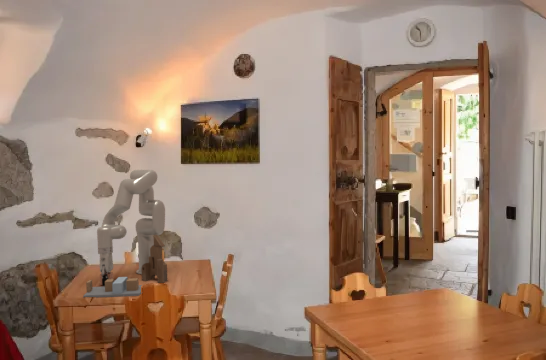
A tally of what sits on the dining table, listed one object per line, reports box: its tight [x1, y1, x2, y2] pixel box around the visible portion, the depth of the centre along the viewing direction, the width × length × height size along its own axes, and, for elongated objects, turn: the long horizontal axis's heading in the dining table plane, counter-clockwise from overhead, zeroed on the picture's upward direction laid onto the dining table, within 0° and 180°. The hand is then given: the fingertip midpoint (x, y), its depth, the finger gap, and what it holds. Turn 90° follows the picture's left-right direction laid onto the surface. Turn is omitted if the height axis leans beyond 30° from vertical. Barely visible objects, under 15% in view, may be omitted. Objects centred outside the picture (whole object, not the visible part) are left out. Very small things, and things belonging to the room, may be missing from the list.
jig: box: [82, 277, 143, 298], centre depth 263 cm, size 16×27×6 cm, turn 94°
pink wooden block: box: [99, 272, 114, 285], centre depth 279 cm, size 4×6×6 cm
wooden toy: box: [141, 235, 169, 284], centre depth 285 cm, size 15×7×25 cm, turn 55°
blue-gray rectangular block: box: [112, 276, 129, 294], centre depth 263 cm, size 13×4×5 cm, turn 3°
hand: (106, 283), depth 280 cm, fingers closed on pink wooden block, 4 cm apart
